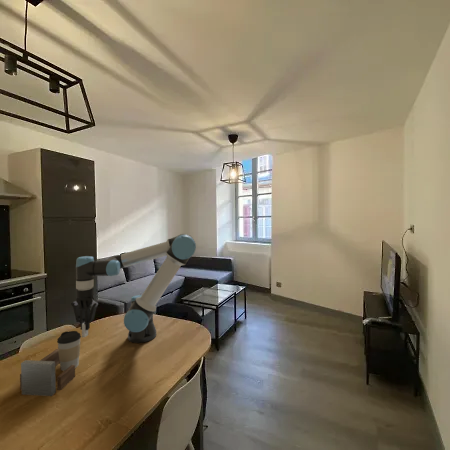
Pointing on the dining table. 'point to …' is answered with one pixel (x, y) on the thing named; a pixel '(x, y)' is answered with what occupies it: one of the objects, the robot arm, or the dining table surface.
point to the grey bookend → (38, 378)
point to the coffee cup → (69, 349)
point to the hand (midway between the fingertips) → (85, 335)
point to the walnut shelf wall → (63, 377)
